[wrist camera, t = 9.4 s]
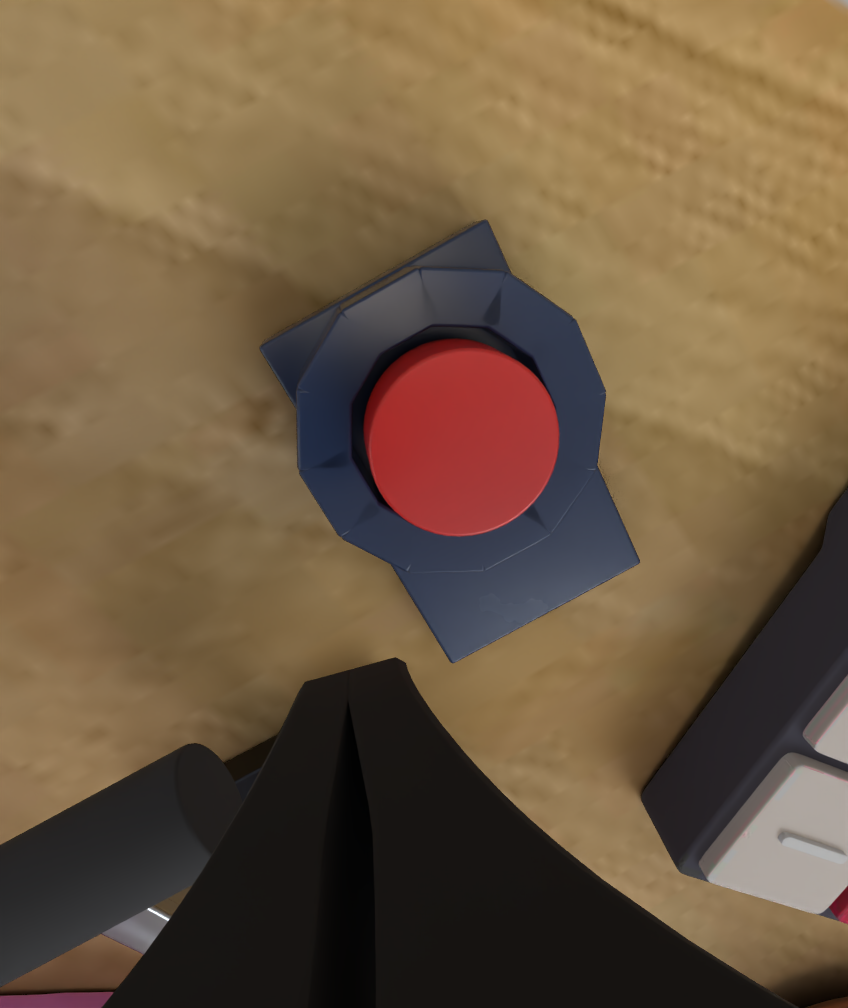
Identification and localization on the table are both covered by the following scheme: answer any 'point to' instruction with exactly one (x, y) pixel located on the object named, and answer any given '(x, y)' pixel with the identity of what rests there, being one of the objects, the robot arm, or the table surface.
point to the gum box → (56, 1000)
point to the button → (460, 437)
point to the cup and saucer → (832, 1003)
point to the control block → (345, 467)
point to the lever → (113, 860)
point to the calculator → (772, 755)
